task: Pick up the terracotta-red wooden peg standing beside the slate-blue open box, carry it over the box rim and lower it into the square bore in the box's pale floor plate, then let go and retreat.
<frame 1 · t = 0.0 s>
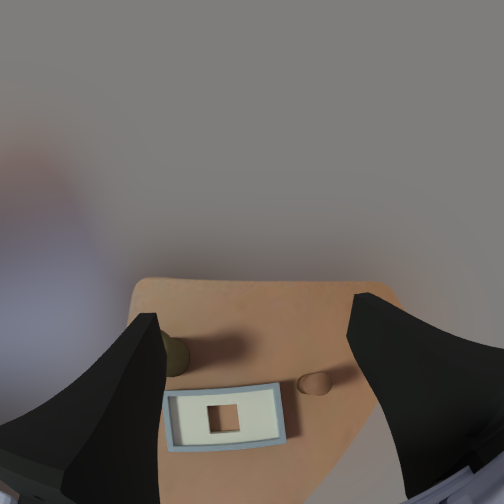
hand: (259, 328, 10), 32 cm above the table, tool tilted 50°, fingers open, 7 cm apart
box: (223, 417, 36), on the table
cork: (170, 357, 39), on the table
peg: (306, 384, 38), on the table
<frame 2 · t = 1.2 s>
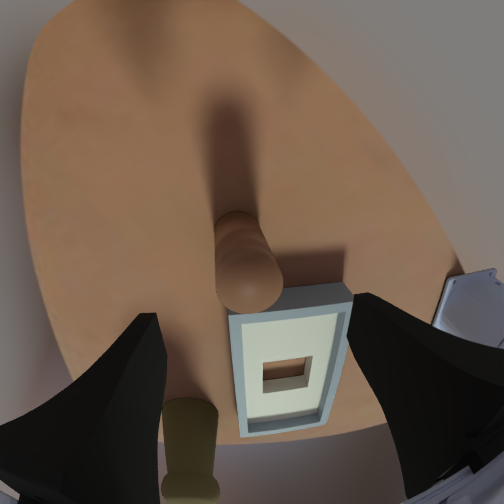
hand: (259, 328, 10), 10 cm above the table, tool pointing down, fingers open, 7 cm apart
box: (283, 363, 24), on the table
cork: (190, 412, 26), on the table
peg: (237, 232, 19), on the table
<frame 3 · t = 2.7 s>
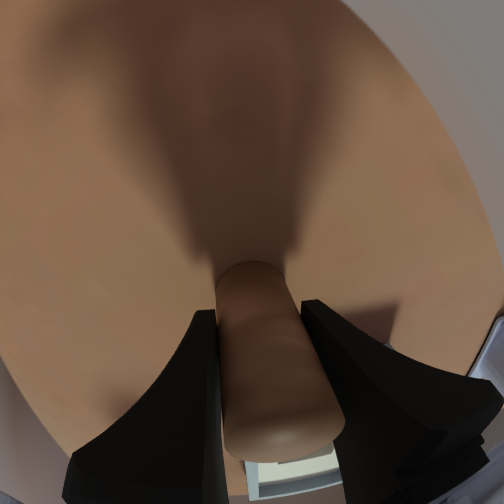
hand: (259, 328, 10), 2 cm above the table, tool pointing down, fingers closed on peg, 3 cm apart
box: (303, 431, 18), on the table
peg: (251, 293, 12), on the table, touching gripper
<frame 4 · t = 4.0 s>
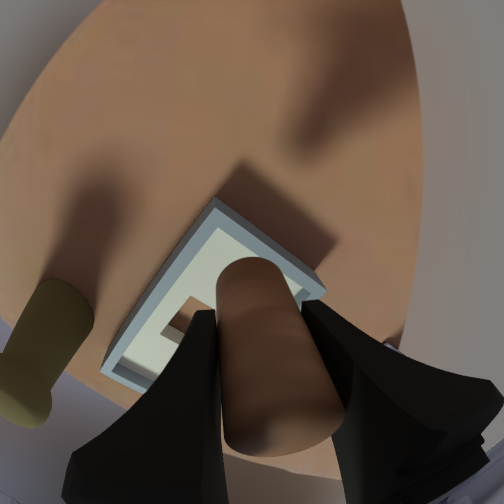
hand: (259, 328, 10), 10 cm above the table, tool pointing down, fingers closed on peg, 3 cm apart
box: (199, 316, 21), on the table
cork: (63, 309, 20), on the table
peg: (250, 288, 12), point 7 cm above the table, touching gripper
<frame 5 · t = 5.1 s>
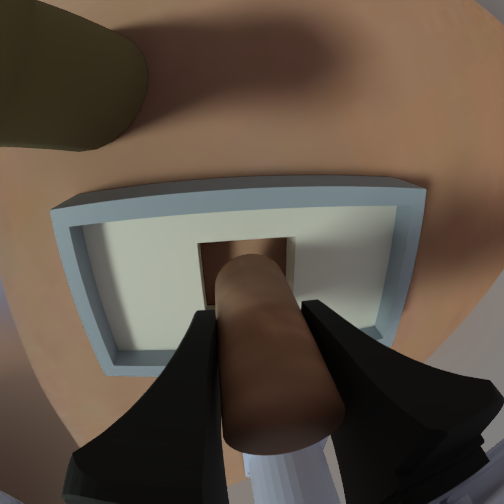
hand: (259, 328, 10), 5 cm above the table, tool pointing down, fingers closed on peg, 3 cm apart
box: (244, 267, 14), on the table
cork: (89, 90, 10), on the table
peg: (250, 286, 12), point 2 cm above the table, touching gripper
when the fingers open (3 cm above the table, at t = 5.7 s): peg stays where it is, resting in box.
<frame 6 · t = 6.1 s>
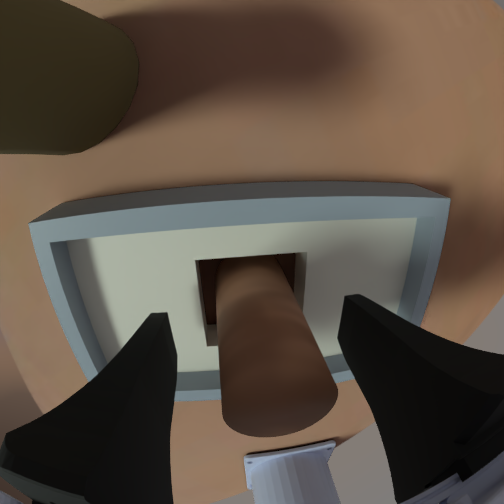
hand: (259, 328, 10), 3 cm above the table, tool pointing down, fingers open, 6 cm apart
box: (248, 284, 13), on the table
cork: (74, 85, 9), on the table
peg: (249, 279, 13), resting in box
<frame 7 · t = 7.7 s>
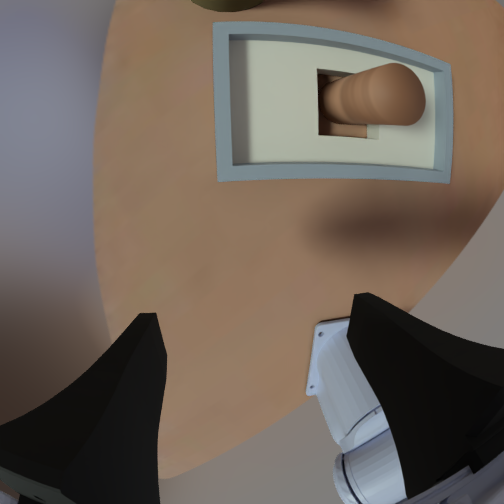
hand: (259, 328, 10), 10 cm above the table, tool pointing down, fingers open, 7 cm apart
box: (339, 105, 16), on the table
peg: (339, 102, 16), resting in box
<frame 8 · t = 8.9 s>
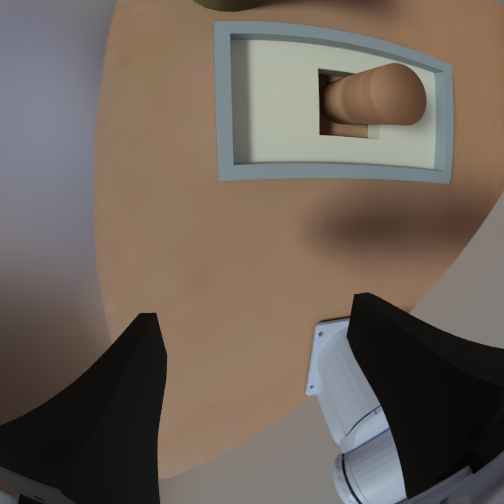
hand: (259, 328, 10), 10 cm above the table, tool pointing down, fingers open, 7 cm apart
box: (340, 105, 16), on the table
peg: (340, 102, 16), resting in box
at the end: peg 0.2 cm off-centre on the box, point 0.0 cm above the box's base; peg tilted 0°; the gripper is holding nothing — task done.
